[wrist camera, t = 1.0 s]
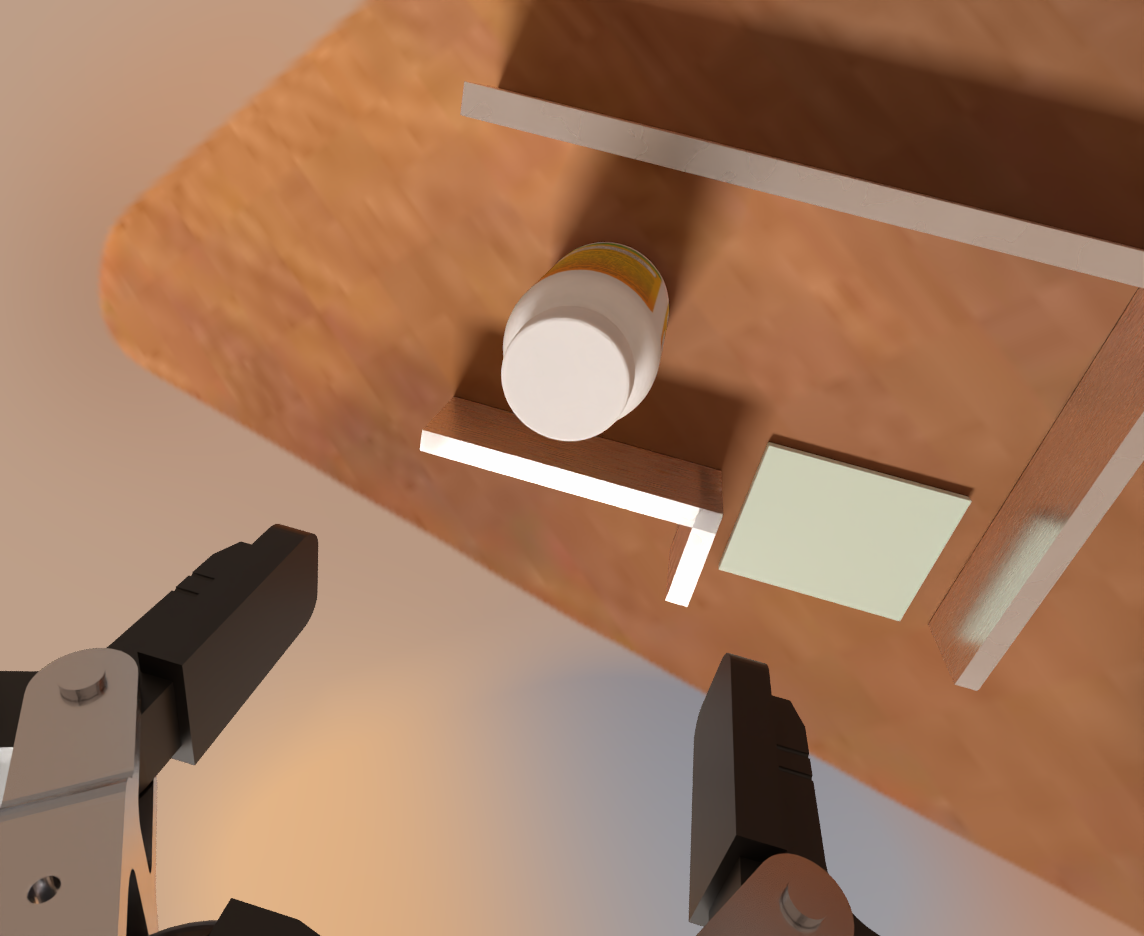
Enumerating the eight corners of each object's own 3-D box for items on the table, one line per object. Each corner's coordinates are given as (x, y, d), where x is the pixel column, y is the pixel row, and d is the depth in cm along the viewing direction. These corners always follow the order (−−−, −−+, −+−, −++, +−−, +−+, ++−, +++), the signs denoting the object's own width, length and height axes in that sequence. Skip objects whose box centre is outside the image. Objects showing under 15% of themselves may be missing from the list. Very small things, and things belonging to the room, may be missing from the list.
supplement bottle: (526, 263, 28) (449, 322, 20) (649, 221, 27) (622, 265, 18) (568, 380, 30) (514, 479, 22) (684, 347, 29) (675, 441, 20)
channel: (497, 87, 26) (464, 81, 22) (1188, 260, 24) (1270, 283, 21) (441, 485, 34) (410, 526, 31) (948, 630, 33) (977, 690, 29)
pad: (768, 441, 30) (769, 445, 30) (968, 496, 29) (971, 501, 29) (718, 564, 33) (718, 569, 33) (897, 615, 33) (899, 621, 32)
